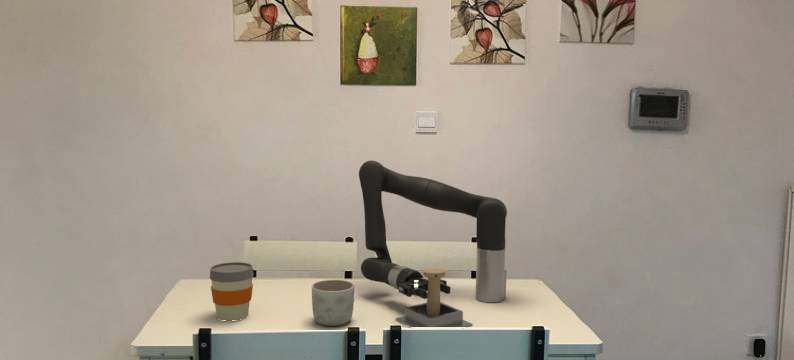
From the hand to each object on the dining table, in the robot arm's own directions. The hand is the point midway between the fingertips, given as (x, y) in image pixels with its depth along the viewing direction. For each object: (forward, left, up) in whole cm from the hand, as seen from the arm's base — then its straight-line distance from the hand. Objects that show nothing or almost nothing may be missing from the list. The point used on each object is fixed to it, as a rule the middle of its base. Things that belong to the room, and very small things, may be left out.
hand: (438, 292), depth 169 cm
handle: (0, -2, -9) cm, 9 cm away
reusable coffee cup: (+47, -39, -10) cm, 62 cm away
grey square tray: (0, -2, -10) cm, 10 cm away
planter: (+24, -19, -10) cm, 32 cm away
